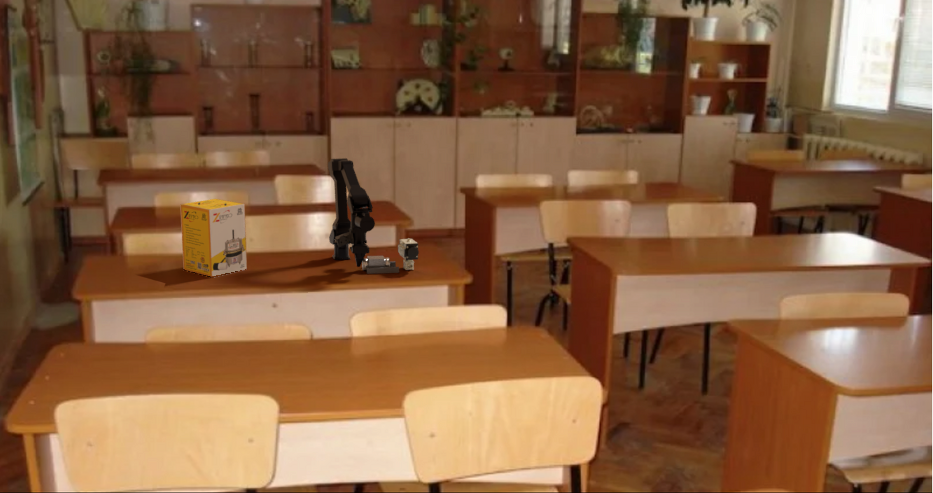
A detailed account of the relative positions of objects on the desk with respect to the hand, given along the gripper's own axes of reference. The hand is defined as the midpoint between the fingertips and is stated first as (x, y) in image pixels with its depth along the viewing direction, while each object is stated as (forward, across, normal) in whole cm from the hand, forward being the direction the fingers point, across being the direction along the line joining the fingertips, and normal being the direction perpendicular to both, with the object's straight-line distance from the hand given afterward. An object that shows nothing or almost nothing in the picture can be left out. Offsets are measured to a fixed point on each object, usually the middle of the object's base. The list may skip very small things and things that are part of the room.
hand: (358, 266), depth 337 cm
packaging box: (+2, -8, -52) cm, 53 cm away
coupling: (+2, 0, +7) cm, 7 cm away
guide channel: (+2, 0, +9) cm, 9 cm away
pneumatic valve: (+2, 0, +19) cm, 19 cm away
